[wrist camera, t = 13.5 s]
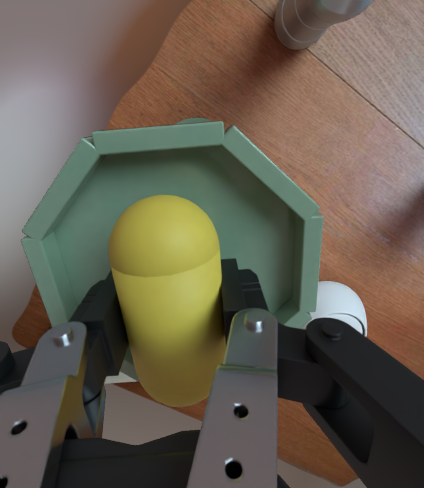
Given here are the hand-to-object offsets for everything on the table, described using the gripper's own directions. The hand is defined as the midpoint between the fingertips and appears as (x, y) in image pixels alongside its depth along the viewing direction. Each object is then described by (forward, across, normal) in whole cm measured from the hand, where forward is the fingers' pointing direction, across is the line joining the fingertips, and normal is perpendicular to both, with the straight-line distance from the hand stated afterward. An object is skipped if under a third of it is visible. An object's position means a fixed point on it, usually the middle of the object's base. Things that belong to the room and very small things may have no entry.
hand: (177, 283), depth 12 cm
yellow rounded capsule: (-2, 0, 0) cm, 2 cm away
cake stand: (+34, 0, 0) cm, 34 cm away
